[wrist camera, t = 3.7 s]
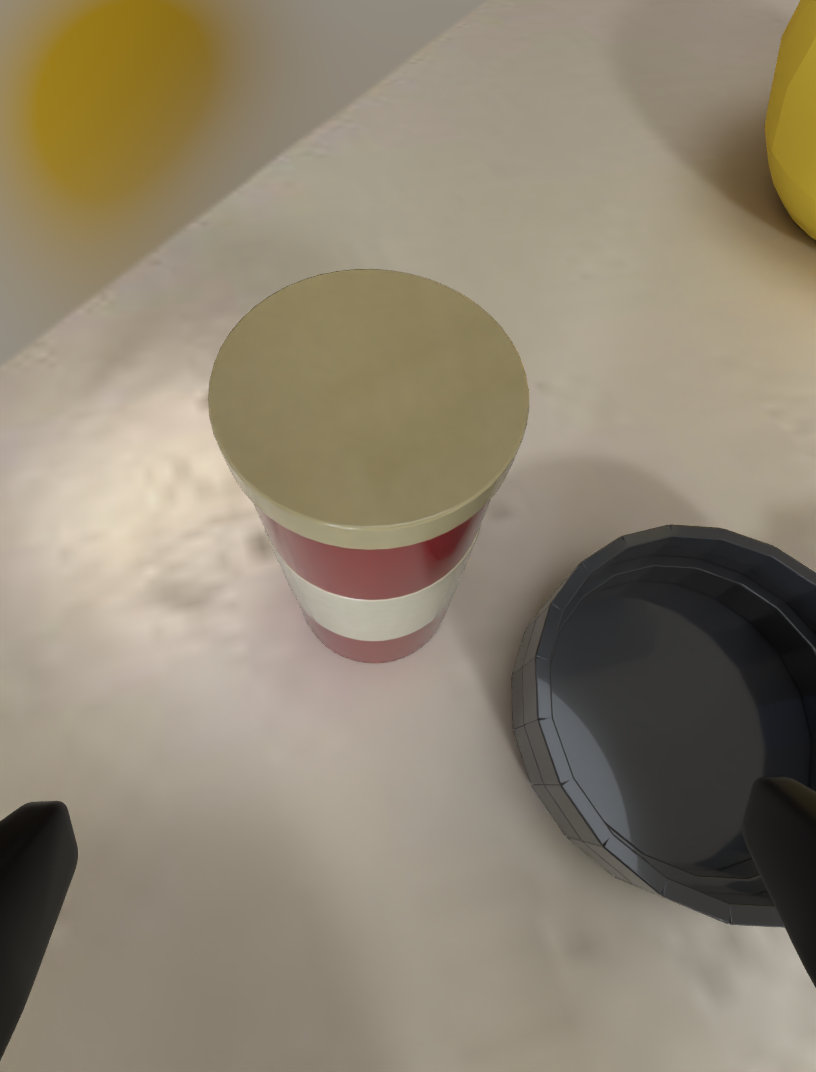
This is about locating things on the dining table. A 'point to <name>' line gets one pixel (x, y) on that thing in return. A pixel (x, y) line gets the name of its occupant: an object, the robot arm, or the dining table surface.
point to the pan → (671, 708)
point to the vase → (795, 119)
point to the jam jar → (369, 445)
